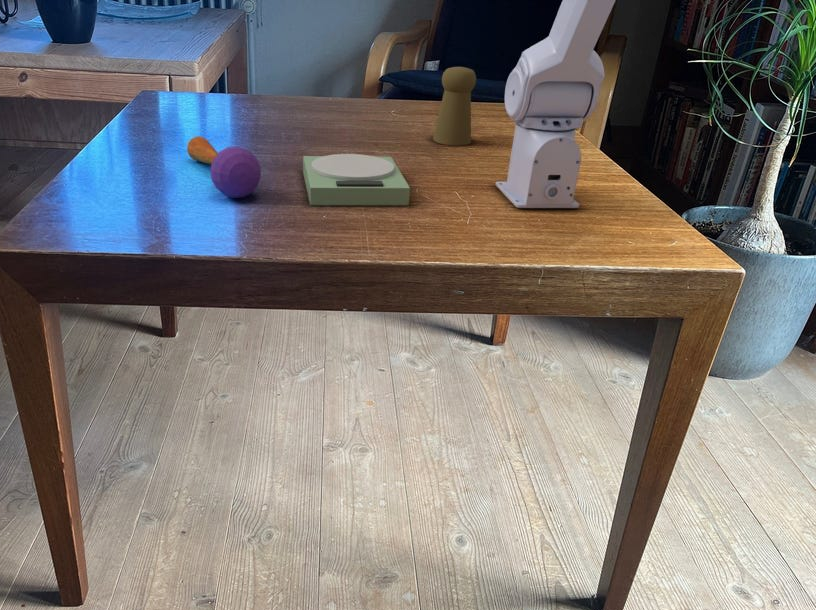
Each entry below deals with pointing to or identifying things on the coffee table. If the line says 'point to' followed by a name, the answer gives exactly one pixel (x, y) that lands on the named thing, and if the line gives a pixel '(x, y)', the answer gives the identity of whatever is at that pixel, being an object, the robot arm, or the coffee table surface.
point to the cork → (455, 107)
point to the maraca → (228, 167)
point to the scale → (354, 180)
